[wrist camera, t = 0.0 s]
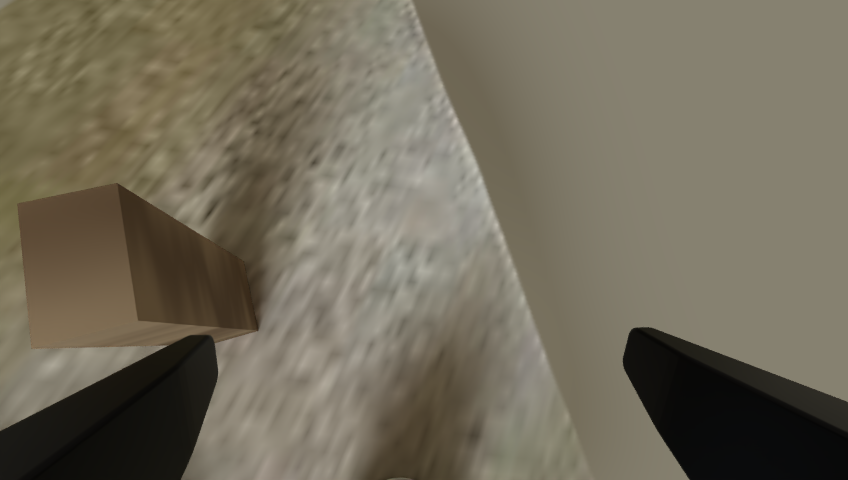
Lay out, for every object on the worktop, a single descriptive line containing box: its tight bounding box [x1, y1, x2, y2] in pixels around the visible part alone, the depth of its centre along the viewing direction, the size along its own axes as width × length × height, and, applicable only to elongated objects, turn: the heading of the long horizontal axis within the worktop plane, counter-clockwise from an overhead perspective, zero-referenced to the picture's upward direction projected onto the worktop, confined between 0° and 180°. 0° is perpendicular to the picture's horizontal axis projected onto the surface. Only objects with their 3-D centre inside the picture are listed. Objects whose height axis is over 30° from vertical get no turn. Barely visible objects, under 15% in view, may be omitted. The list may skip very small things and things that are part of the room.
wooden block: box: [17, 183, 258, 349], centre depth 17 cm, size 4×2×12 cm, turn 17°
